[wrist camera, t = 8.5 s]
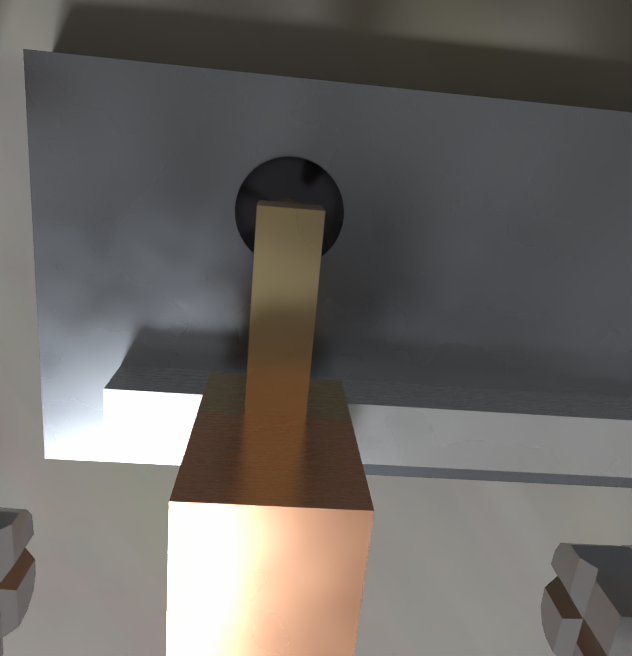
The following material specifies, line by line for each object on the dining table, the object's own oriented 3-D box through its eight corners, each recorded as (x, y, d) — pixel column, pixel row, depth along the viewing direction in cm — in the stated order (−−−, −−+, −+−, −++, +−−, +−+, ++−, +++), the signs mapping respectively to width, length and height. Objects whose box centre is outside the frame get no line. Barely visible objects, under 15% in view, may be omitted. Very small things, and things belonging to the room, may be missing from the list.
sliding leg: (354, 198, 13) (411, 242, 7) (325, 465, 16) (352, 668, 10) (222, 187, 13) (174, 223, 7) (211, 460, 15) (166, 663, 9)
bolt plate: (1020, 158, 16) (1329, 165, 11) (883, 476, 19) (1083, 586, 14) (49, 58, 14) (-70, 15, 9) (65, 432, 17) (-20, 544, 12)
